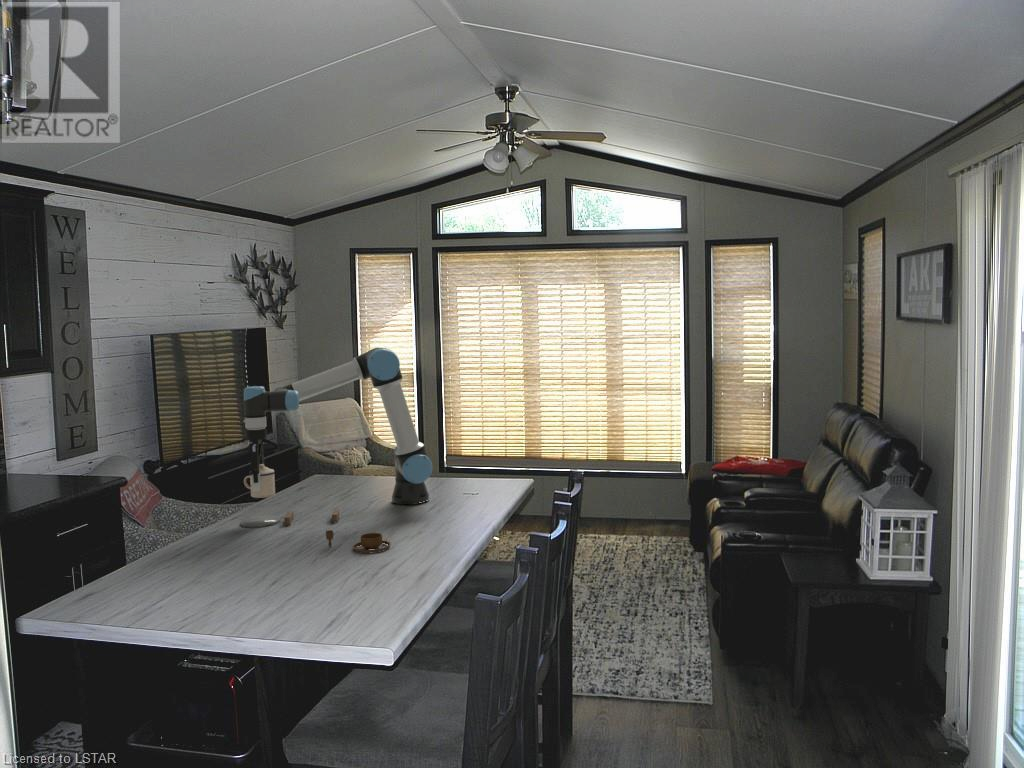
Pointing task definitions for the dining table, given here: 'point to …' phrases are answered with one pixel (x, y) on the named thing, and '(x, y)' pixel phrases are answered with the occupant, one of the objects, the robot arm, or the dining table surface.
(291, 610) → the dining table surface
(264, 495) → the teacup with lid
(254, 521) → the grey flat disc
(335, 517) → the walnut cradle
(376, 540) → the place setting
